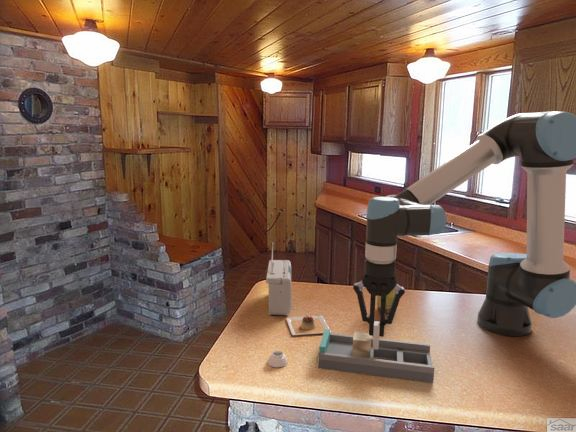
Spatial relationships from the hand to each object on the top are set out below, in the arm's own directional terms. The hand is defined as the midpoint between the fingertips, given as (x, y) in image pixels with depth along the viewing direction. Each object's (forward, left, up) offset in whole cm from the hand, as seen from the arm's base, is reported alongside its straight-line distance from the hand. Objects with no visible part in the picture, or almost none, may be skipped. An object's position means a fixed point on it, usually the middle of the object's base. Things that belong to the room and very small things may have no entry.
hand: (375, 346), depth 111 cm
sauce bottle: (-3, -35, -5) cm, 36 cm away
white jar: (+25, +6, -5) cm, 26 cm away
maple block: (+3, 0, -2) cm, 4 cm away
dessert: (+21, -17, -5) cm, 27 cm away
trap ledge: (0, 0, -5) cm, 5 cm away
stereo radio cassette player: (+34, -32, -5) cm, 46 cm away
